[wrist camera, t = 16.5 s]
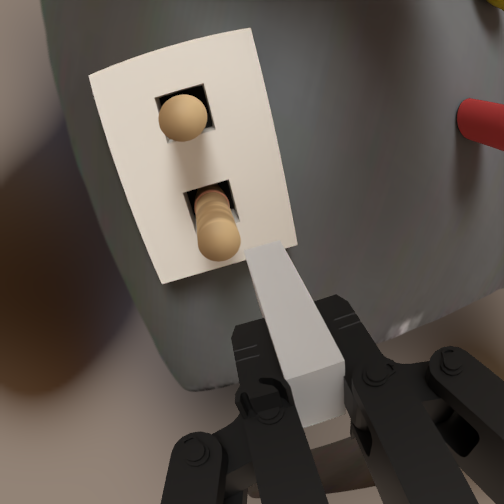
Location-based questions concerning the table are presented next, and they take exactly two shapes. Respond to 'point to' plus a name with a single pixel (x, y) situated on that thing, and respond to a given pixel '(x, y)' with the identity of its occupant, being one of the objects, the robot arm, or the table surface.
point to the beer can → (482, 122)
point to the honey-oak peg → (215, 224)
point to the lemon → (497, 3)
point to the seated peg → (182, 118)
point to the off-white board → (195, 148)
